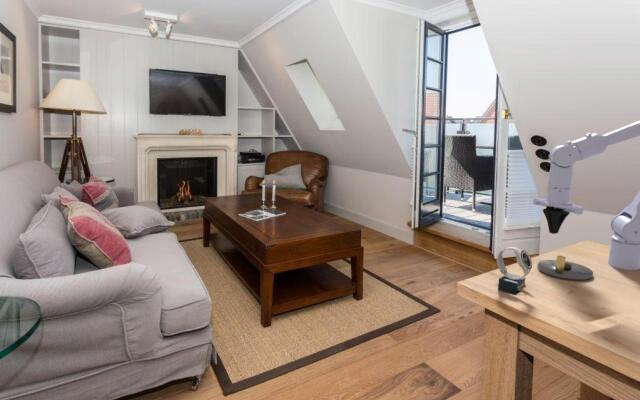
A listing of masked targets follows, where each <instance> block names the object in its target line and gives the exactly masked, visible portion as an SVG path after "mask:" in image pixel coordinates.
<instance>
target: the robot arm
mask: <svg viewBox="0 0 640 400" xmlns="http://www.w3.org/2000/svg"><path fill="white" fill-rule="evenodd" d="M637 137H640V120H638V121H635V122H632V123H630V124H628V125H626V126H622V127H620V128H618V129H615V130H613V131H610V132H608V133H607V132H606V133H605V134H602V135H601V134H599V133H597V132H596V133H591V132H588V133H586V134H584V137H581V138H579V139H576V140H573V141H572V140H568V141H566V145H560V144H559V145H556V146H555V147H553V149H552V150H550V152H549V154H548V159H549V161H550V165H549V166H550V169H549V172H548V181H547V188H546V189H547V190H546V197H545V198H540V197H534V198H533V202H532V205H534V206H535V205H536V206H537V205H538V206H541V207H545V208H543V209H542V212H543V214H544V216H545V219H546V222H547V227H548V232H549V234H552V235H555V234H558V233H559V231H560V229H561V227H562V225H563V223H564V221H565V219H566V218H567V217H568V216H569V215H570V213H573V214H574V215H583V213H584V207H583V206H580V205H577V204H574V203H570V195H571V188H572V179H573V169H574V165H575V164H576V162H579V161H583V160H585V159H588V158H591V157H593V156H594V157H595V156H597V155H600V154H603V153H605V151H606V149H607V147H609V146H613V145H615V144H618V143H621V142H625V141H628V140H631V139H633V138H637ZM610 228H611V230H612V231H613V234H612V236H611V241H610V247H609V254H608V260H607V264H608V265H609V266H611V267H613V268H615V269H619V270H625V271H626V270H627V271H638V270H640V190H639V191H638V192H637V194H636V195H635V197H634V199H632V202H631V203H630V204H629V205H626V207H624V208H622V211H620V213H618V214H616V215H615V216H614V217H612V219H611V221H610Z"/></svg>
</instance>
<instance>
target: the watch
mask: <svg viewBox="0 0 640 400" xmlns="http://www.w3.org/2000/svg"><path fill="white" fill-rule="evenodd" d="M507 250H508V251H514V254H515V255H516V256H515V257H516V261H517V264H518V266H519V267H520V269H521V270H522V271H523V273H524V274H523V275H522V276H521V275H517V274H514V273H511V272H510V273H509V272H508V268H507V267H506V265H505V263H504V259H503V253H504V252H505V251H507ZM496 264H497V267H498V269H499V272H500V273H501V275H502V276H500V277H499V278H498V285H497V286H498V287H497V291H500V292H503V293H507V294H509V295H513V296H517V295H519V294H520V293H521V292H522V291H521V290H519V288H521V287H522V286H523V285H525V282H526V277H527V276H528V275H529V274H530V272H531V270H532V268H533V261H532V259H531V256H530V254H529V253H528V251H526V250H524V249H522V248H520V247H518V246H507V247H506V248H503V249H502V250H500V251H499V252H498V253H497V258H496Z"/></svg>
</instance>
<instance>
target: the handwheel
mask: <svg viewBox="0 0 640 400" xmlns="http://www.w3.org/2000/svg"><path fill="white" fill-rule="evenodd" d="M536 268H537V270H538V272H540V273H542V274H544V275H546V276H548V277H552V278H556V279H558V280H559V279H560V280H564V281H565V280H566V281H572V282H573V281H575V282H583V281H590V280H592V279H593V277H594V271H593V270H592V269H590V268H589V267H587V266H585V265H582V264H580V263H576V262H571V261H567V260H566V256H564V255H556V259H543V260H541V261H539V262H538V263H537V267H536Z"/></svg>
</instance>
